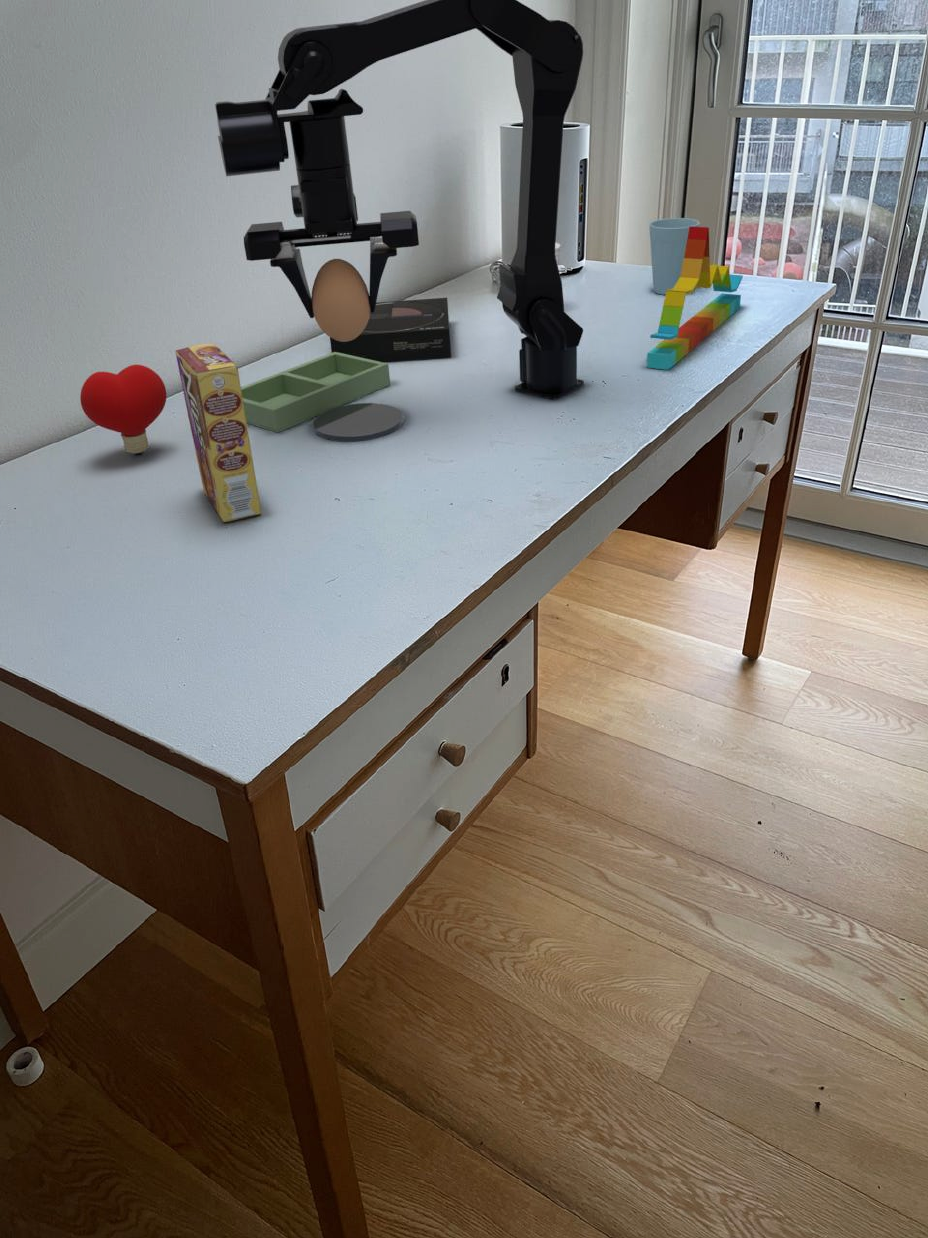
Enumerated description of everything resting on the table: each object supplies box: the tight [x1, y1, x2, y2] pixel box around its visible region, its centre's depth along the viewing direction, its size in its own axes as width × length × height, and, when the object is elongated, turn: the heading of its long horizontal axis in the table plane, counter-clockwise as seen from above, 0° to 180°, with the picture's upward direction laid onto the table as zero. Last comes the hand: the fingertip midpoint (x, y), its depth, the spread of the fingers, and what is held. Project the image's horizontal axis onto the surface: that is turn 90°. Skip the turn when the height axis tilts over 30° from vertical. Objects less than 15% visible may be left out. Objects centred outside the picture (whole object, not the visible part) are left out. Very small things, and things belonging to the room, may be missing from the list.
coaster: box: [312, 402, 405, 442], centre depth 117 cm, size 11×11×1 cm
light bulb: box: [79, 364, 168, 457], centre depth 110 cm, size 9×7×10 cm
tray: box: [241, 352, 391, 434], centre depth 124 cm, size 10×19×3 cm, turn 140°
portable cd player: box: [329, 297, 452, 363], centre depth 142 cm, size 16×17×4 cm
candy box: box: [174, 343, 262, 523], centre depth 96 cm, size 9×4×15 cm, turn 26°
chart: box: [645, 226, 744, 371], centre depth 134 cm, size 30×3×15 cm, turn 150°
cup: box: [648, 217, 701, 296], centre depth 155 cm, size 8×8×10 cm
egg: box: [311, 258, 371, 342], centre depth 111 cm, size 7×7×9 cm
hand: (342, 314), depth 112 cm, fingers closed on egg, 6 cm apart
